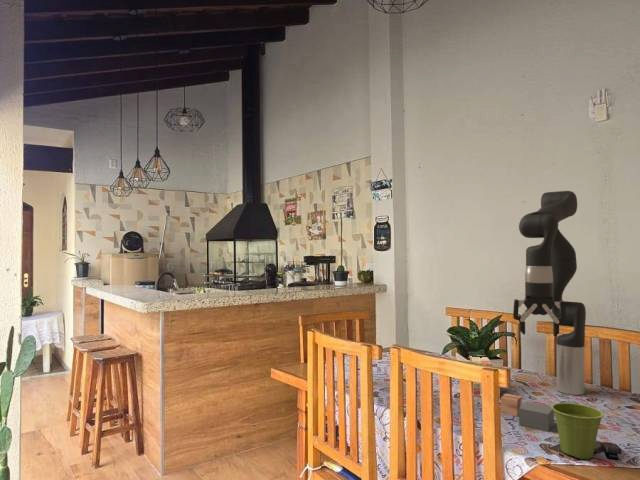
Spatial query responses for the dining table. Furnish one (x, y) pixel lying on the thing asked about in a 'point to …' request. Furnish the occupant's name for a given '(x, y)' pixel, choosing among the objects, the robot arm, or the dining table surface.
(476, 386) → the stack of blocks
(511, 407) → the terracotta cube
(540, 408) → the grey base block
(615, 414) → the dining table surface
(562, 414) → the plant pot
